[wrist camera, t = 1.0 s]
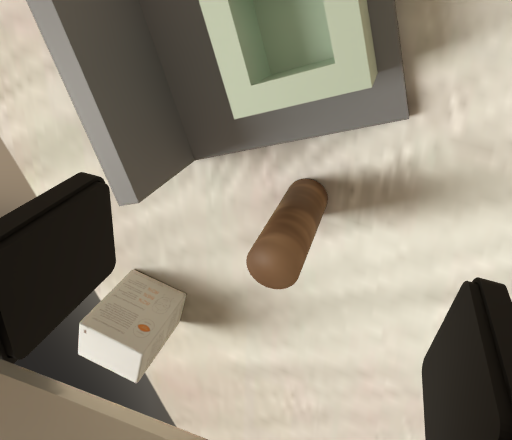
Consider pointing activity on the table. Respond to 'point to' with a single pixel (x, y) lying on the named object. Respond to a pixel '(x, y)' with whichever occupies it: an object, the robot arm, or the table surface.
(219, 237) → the table surface
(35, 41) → the table surface
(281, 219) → the walnut dowel
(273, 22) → the sage block
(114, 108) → the board
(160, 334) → the small box
